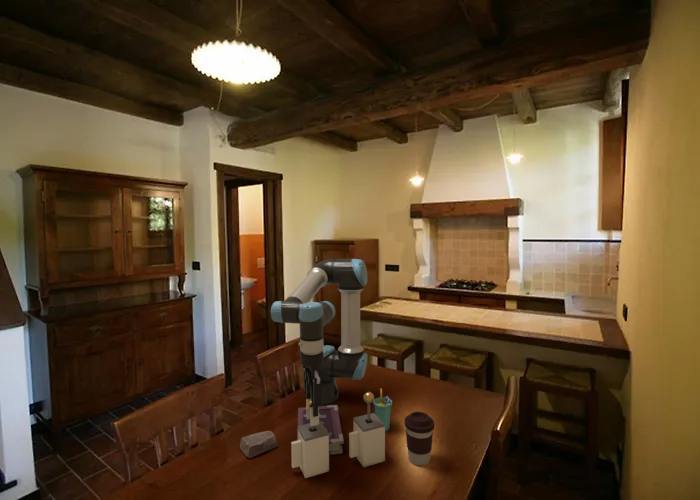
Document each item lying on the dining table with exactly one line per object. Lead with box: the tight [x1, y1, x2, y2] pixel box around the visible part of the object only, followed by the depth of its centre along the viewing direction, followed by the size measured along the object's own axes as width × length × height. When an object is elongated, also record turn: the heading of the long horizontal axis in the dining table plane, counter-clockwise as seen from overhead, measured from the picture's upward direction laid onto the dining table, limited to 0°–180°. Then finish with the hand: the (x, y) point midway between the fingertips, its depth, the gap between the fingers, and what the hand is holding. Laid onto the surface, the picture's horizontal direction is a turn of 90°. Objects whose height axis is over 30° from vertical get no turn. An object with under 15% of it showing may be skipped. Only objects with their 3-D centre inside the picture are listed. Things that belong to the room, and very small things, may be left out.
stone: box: [239, 430, 279, 459], centre depth 128 cm, size 12×9×5 cm
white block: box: [348, 412, 386, 468], centre depth 121 cm, size 8×11×13 cm
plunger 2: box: [363, 391, 375, 424], centre depth 121 cm, size 5×5×21 cm
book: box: [296, 404, 345, 455], centre depth 136 cm, size 25×16×5 cm, turn 7°
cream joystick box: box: [290, 421, 330, 479], centre depth 116 cm, size 8×11×13 cm
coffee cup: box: [403, 411, 435, 466], centre depth 120 cm, size 10×10×15 cm
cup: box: [373, 388, 393, 432], centre depth 139 cm, size 14×8×15 cm, turn 15°
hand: (312, 421), depth 116 cm, fingers closed on plunger 1, 4 cm apart
